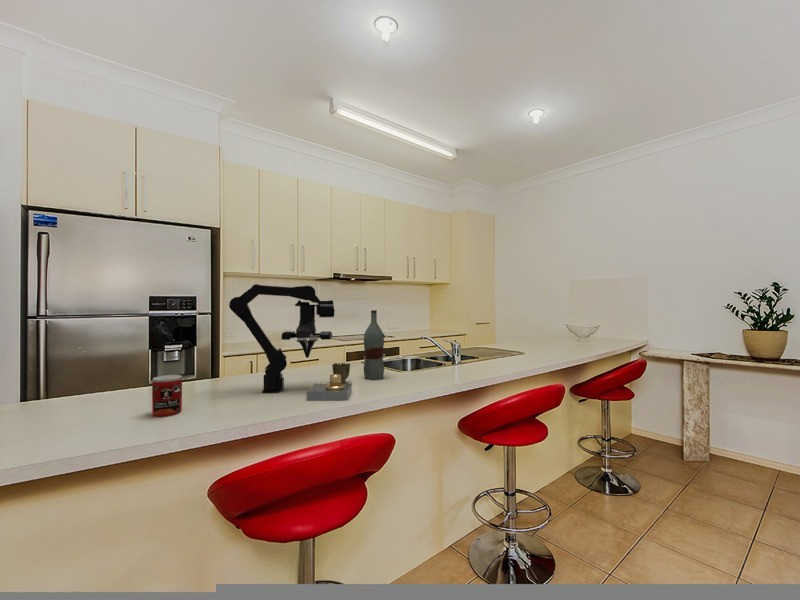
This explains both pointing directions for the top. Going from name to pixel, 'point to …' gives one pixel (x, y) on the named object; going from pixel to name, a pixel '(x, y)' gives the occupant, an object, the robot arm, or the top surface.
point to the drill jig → (328, 393)
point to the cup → (341, 370)
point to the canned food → (166, 395)
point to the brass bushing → (335, 382)
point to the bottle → (373, 350)
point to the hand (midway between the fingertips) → (307, 357)
